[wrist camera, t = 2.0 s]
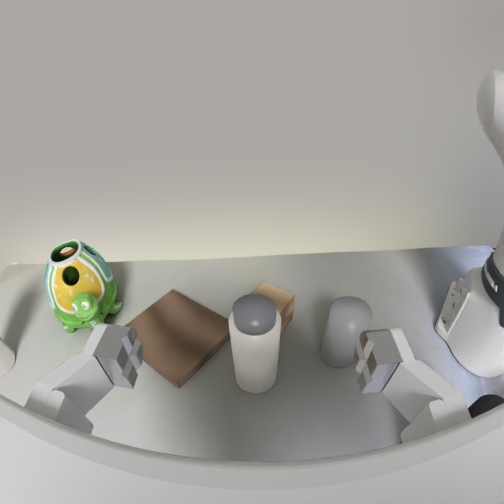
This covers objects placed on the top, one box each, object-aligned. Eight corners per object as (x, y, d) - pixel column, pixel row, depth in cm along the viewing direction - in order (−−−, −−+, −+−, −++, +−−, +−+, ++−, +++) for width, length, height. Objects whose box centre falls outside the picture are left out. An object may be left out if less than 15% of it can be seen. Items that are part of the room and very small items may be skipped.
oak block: (263, 306, 42) (263, 281, 40) (292, 319, 40) (294, 294, 37) (244, 327, 39) (242, 302, 36) (274, 342, 36) (275, 317, 34)
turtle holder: (74, 369, 31) (33, 309, 24) (56, 300, 42) (31, 247, 36) (144, 334, 37) (118, 269, 31) (110, 275, 49) (92, 221, 42)
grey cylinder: (328, 333, 37) (339, 291, 33) (360, 346, 35) (376, 304, 30) (313, 358, 34) (323, 317, 29) (348, 373, 31) (365, 333, 27)
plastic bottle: (250, 354, 35) (247, 284, 28) (283, 371, 32) (291, 302, 26) (227, 380, 31) (216, 313, 25) (262, 400, 29) (262, 337, 22)
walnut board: (173, 295, 45) (172, 289, 44) (237, 329, 38) (236, 324, 38) (118, 338, 36) (116, 332, 36) (178, 388, 30) (176, 383, 29)
